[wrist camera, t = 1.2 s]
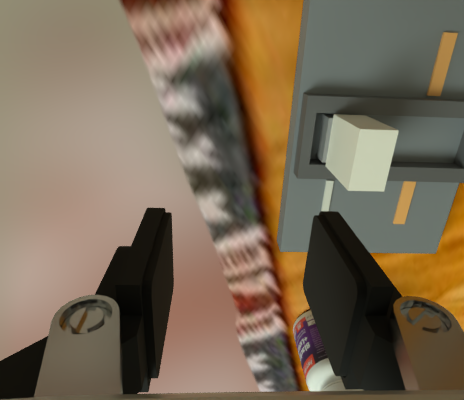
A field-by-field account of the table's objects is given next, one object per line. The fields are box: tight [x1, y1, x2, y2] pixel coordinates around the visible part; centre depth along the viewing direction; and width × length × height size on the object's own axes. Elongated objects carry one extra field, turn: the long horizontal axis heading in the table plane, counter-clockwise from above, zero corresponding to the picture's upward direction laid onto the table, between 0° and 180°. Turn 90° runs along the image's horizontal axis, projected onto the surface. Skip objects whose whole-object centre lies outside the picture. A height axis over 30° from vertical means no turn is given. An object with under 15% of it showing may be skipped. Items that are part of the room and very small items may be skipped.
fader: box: [317, 114, 399, 192], centre depth 24 cm, size 4×3×7 cm
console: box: [277, 0, 464, 253], centre depth 28 cm, size 22×15×4 cm
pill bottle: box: [293, 310, 363, 391], centre depth 34 cm, size 5×5×10 cm
